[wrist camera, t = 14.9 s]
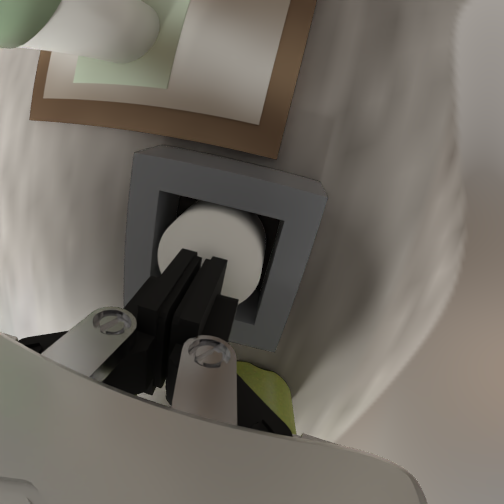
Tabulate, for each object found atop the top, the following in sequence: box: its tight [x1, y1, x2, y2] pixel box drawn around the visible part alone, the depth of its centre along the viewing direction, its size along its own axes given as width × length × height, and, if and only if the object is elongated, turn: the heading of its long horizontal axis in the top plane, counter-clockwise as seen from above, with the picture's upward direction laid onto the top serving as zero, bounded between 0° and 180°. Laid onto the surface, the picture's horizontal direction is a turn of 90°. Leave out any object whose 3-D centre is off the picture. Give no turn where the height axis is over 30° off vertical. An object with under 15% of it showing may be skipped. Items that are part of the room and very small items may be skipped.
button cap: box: [158, 200, 266, 304], centre depth 13 cm, size 4×4×2 cm
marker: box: [0, 0, 160, 64], centre depth 6 cm, size 3×3×8 cm
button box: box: [124, 145, 328, 352], centre depth 13 cm, size 7×7×3 cm
